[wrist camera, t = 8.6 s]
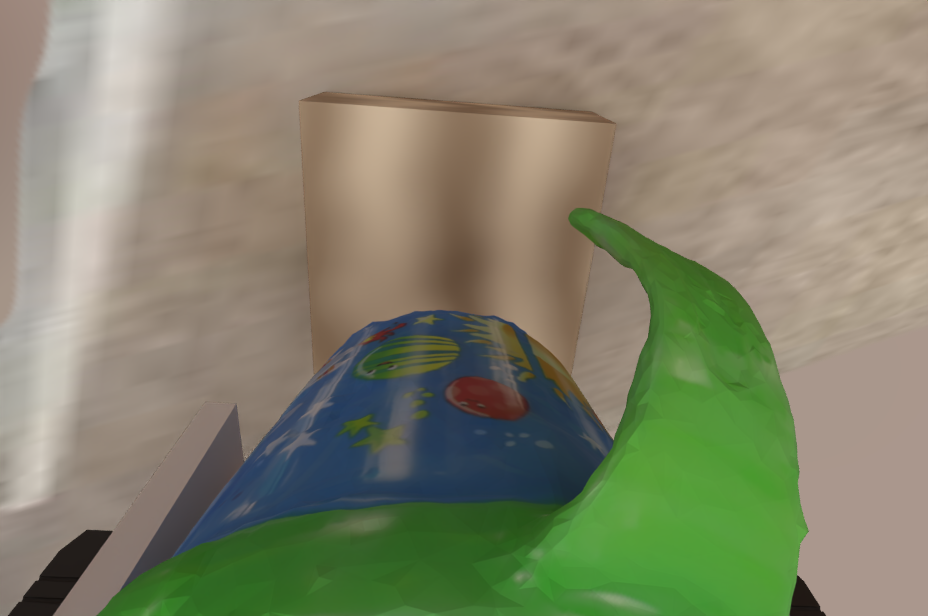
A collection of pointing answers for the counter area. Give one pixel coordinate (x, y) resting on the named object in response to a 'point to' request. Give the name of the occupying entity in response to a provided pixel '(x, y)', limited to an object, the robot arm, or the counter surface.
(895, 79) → the counter surface
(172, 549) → the robot arm
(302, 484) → the snack cup
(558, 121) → the maple block
